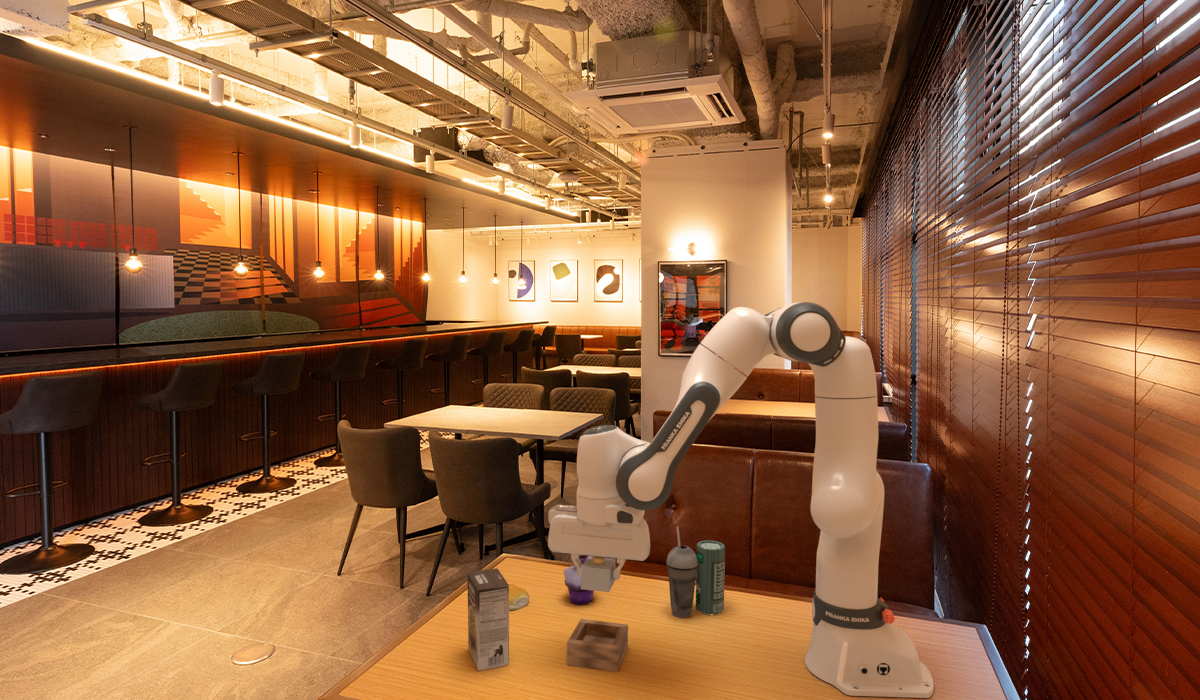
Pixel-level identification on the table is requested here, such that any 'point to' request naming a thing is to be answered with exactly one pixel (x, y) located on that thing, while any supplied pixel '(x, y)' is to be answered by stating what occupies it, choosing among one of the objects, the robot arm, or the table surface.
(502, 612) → the coffee box
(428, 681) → the table surface
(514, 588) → the bread roll
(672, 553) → the beverage cup
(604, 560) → the lid
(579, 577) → the potion bottle
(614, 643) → the box
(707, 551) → the can
